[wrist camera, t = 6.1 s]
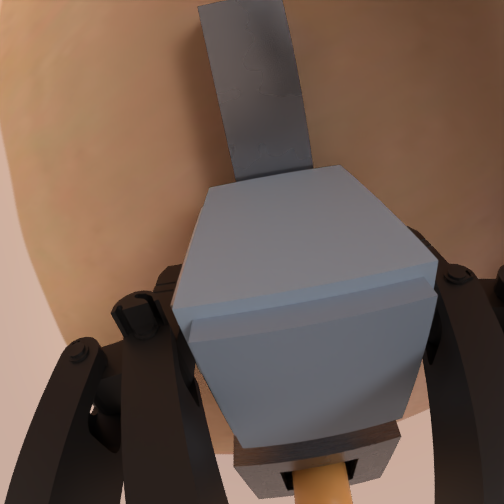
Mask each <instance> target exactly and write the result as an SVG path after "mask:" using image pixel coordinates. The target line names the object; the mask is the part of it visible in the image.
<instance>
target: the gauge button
mask: <svg viewBox="0 0 504 504" xmlns="http://www.w3.org/2000/svg"><path fill="white" fill-rule="evenodd" d="M292 477H293V487H294V497H295V504H353V502H352V496H351V491H350V486H349V481H348V475H347V470H346V465H345V462H340V463H335V464H330V465H325V466H320V467H314V468H308V469H302V470H295V471H292Z"/></svg>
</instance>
